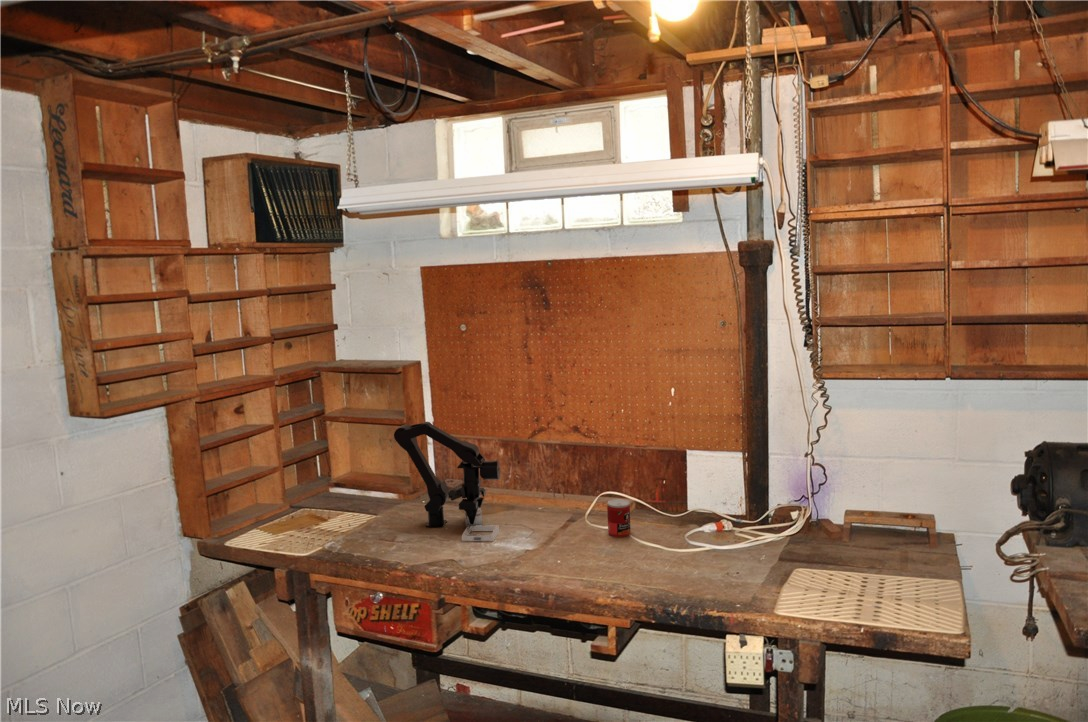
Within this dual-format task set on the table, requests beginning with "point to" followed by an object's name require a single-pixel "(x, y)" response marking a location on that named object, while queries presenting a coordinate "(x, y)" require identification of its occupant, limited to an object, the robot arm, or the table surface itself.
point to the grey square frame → (480, 537)
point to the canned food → (618, 517)
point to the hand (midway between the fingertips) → (473, 521)
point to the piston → (477, 519)
